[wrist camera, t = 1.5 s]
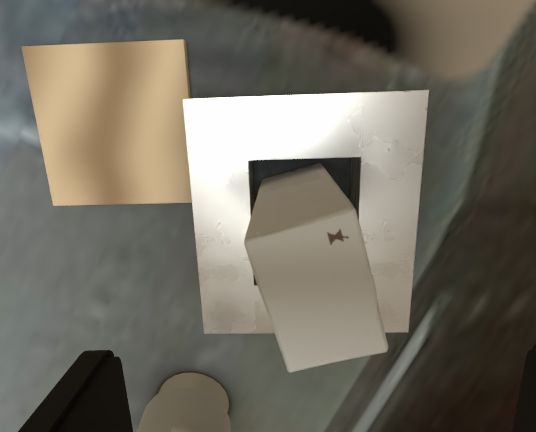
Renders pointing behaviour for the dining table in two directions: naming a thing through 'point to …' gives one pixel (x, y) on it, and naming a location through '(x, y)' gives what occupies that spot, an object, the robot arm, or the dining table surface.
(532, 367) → the robot arm
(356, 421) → the dining table surface
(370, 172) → the white rectangular frame
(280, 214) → the skincare box
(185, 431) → the white ribbed canister
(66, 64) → the wooden coaster
